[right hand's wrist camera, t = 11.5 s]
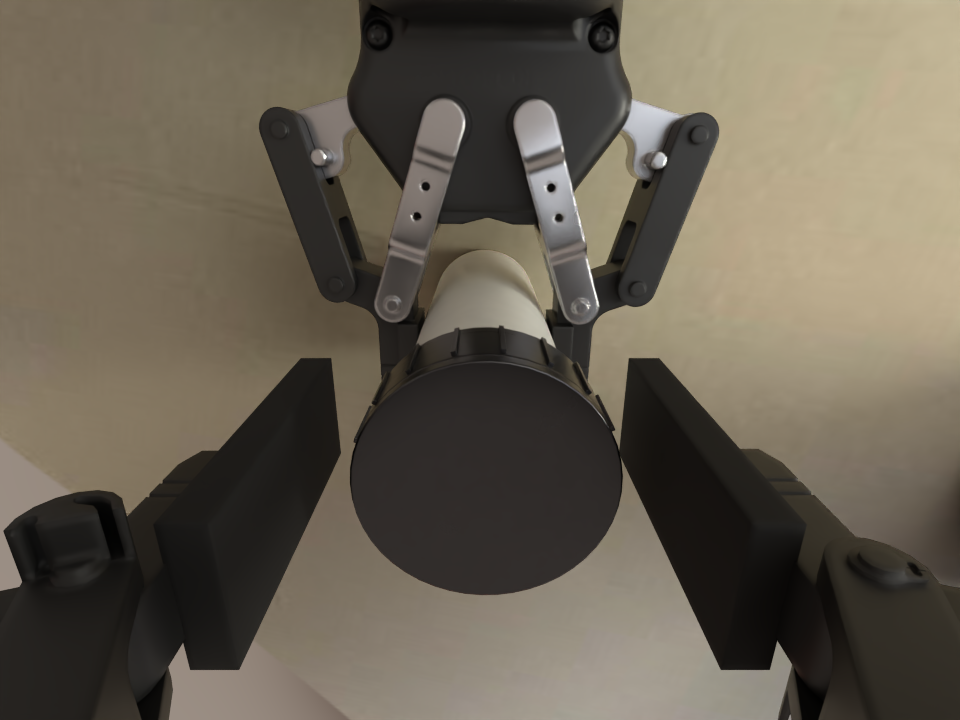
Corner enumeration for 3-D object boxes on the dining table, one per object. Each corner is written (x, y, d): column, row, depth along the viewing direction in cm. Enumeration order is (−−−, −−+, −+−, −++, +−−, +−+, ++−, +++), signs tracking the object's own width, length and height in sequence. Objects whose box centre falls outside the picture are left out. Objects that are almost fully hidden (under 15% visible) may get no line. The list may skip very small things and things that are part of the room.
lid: (557, 554, 14) (570, 622, 12) (345, 501, 13) (321, 562, 11) (640, 364, 12) (672, 405, 10) (399, 293, 12) (380, 321, 10)
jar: (515, 354, 26) (553, 585, 12) (425, 328, 26) (354, 536, 12) (546, 266, 25) (630, 410, 11) (451, 236, 24) (405, 346, 10)
